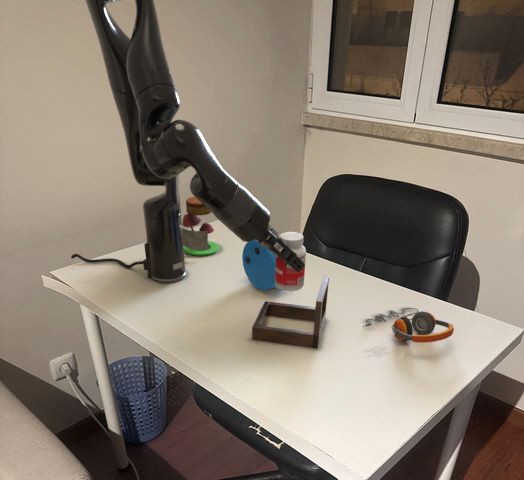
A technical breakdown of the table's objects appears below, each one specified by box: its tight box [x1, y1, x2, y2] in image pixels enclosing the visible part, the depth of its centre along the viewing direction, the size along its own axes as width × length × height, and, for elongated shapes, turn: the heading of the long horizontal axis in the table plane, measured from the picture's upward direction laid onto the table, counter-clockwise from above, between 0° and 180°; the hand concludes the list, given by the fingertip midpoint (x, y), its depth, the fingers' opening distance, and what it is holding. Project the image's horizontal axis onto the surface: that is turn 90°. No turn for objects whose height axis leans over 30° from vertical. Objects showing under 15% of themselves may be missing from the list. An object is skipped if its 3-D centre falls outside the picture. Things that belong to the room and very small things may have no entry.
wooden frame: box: [251, 275, 330, 349], centre depth 110 cm, size 14×12×11 cm
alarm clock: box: [241, 234, 281, 292], centre depth 127 cm, size 13×6×15 cm, turn 39°
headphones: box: [362, 307, 455, 343], centre depth 111 cm, size 17×5×20 cm
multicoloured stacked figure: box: [182, 196, 220, 257], centre depth 148 cm, size 12×13×15 cm
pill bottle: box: [275, 231, 307, 292], centre depth 104 cm, size 6×6×11 cm
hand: (294, 261), depth 104 cm, fingers closed on pill bottle, 6 cm apart
